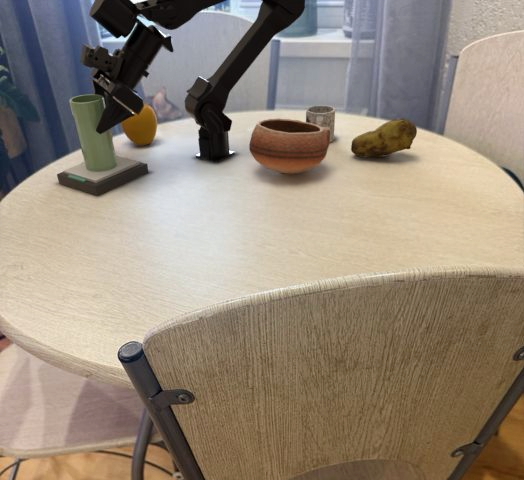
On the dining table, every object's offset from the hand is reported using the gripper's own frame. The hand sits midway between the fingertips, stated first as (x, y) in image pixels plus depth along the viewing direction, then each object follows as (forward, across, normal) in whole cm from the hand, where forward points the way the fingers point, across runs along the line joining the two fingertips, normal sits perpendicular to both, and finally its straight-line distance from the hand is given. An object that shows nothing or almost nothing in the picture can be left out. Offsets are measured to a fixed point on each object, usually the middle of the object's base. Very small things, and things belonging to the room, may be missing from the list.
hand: (92, 126), depth 105 cm
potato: (-32, +20, +47) cm, 60 cm away
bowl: (-17, +16, +32) cm, 40 cm away
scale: (+8, 0, +7) cm, 10 cm away
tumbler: (+6, 0, +6) cm, 8 cm away
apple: (-2, -18, +17) cm, 24 cm away
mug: (-27, +4, +43) cm, 51 cm away
